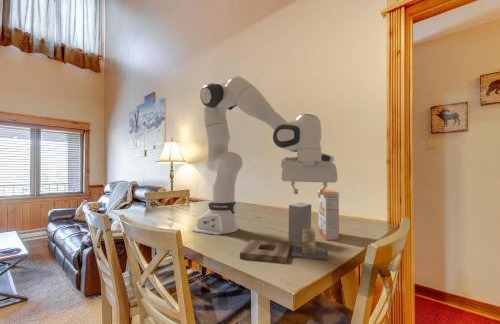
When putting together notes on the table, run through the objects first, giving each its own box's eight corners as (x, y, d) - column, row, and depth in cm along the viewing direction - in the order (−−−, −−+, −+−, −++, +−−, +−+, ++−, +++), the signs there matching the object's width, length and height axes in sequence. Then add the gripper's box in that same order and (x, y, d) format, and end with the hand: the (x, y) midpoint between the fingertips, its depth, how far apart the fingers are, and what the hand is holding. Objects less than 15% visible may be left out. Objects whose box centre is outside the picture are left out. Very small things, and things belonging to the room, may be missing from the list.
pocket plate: (239, 258, 85) (239, 252, 85) (251, 244, 101) (251, 239, 101) (286, 263, 81) (286, 256, 81) (290, 247, 97) (290, 242, 97)
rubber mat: (291, 256, 87) (291, 255, 87) (293, 246, 99) (293, 244, 99) (327, 260, 84) (327, 258, 84) (325, 248, 96) (325, 247, 96)
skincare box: (298, 237, 111) (298, 202, 112) (312, 240, 106) (312, 203, 107) (287, 241, 105) (287, 203, 106) (301, 245, 100) (301, 205, 101)
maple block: (302, 252, 90) (302, 231, 90) (302, 248, 94) (302, 228, 94) (315, 253, 88) (315, 232, 89) (315, 249, 93) (315, 229, 93)
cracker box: (317, 232, 121) (317, 189, 121) (330, 232, 120) (329, 189, 121) (325, 240, 107) (325, 191, 107) (339, 240, 106) (339, 191, 107)
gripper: (280, 156, 92) (279, 194, 92) (338, 157, 88) (338, 196, 87) (282, 157, 99) (281, 192, 98) (336, 157, 94) (336, 194, 93)
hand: (308, 194), depth 93 cm, fingers open, 8 cm apart
